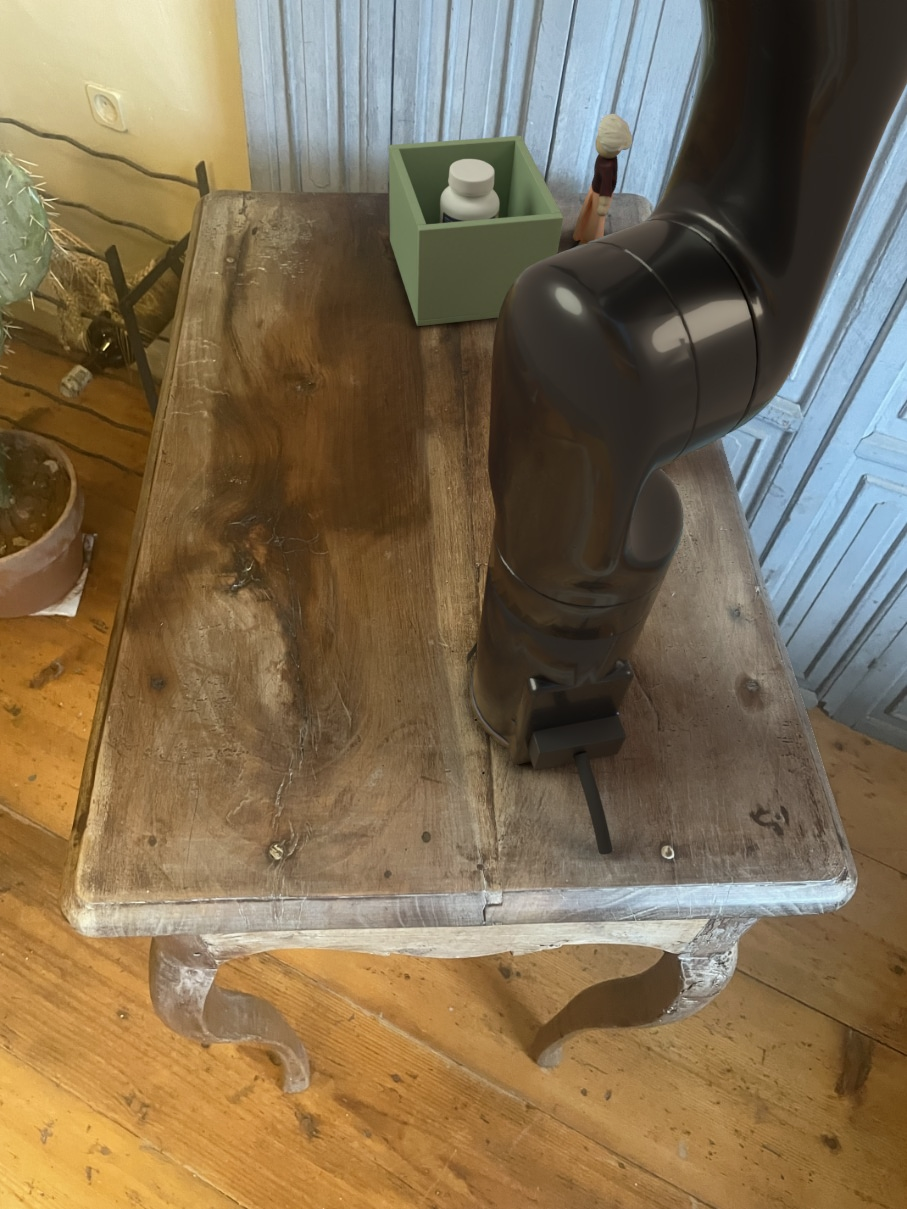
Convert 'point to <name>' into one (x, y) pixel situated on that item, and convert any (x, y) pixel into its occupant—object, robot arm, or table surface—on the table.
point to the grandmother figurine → (602, 178)
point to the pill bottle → (469, 193)
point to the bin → (467, 228)
